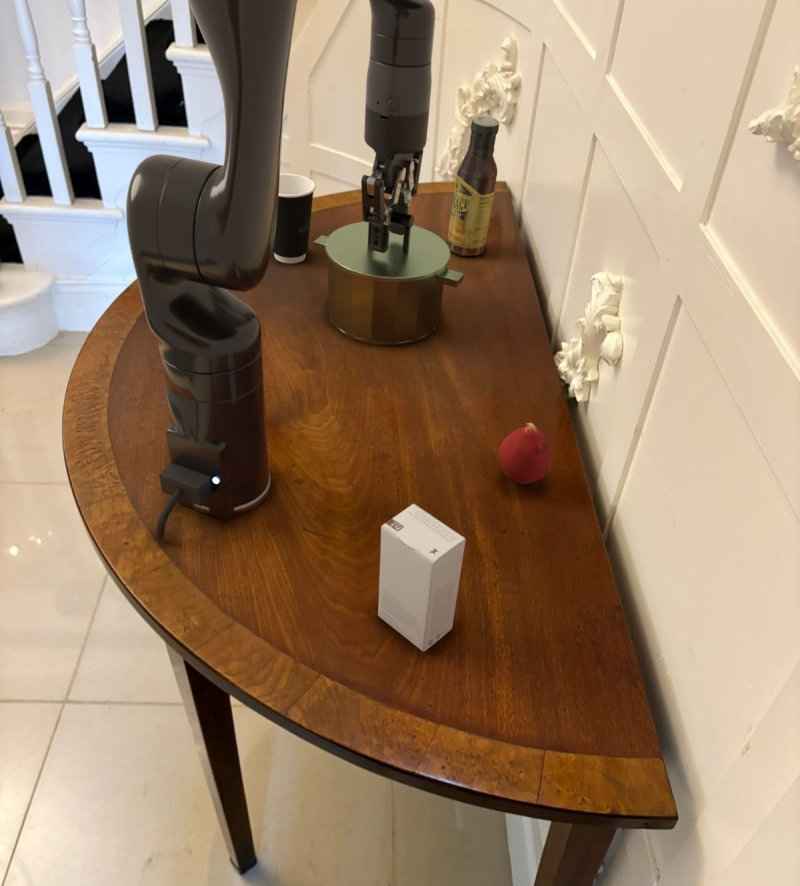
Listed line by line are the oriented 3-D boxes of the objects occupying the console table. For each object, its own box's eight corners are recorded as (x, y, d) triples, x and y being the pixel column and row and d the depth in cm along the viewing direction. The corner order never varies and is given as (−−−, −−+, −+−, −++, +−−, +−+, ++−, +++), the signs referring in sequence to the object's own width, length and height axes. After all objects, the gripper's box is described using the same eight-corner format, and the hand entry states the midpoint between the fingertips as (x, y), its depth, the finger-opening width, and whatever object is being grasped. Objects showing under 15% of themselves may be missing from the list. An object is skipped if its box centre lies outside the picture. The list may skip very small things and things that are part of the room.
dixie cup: (261, 245, 124) (257, 173, 116) (311, 243, 125) (310, 172, 118) (267, 269, 118) (264, 195, 111) (319, 267, 120) (319, 194, 112)
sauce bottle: (441, 242, 129) (456, 111, 115) (476, 239, 131) (495, 110, 117) (454, 260, 125) (472, 127, 111) (490, 258, 127) (512, 126, 113)
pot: (431, 363, 104) (439, 297, 97) (291, 321, 108) (289, 255, 102) (471, 311, 114) (481, 248, 107) (341, 274, 119) (343, 212, 112)
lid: (421, 299, 98) (426, 251, 93) (302, 265, 101) (302, 218, 97) (466, 247, 109) (472, 202, 104) (358, 219, 112) (359, 174, 108)
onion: (544, 468, 90) (559, 411, 84) (546, 501, 86) (562, 444, 80) (494, 462, 90) (505, 404, 85) (493, 495, 86) (505, 437, 80)
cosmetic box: (453, 628, 73) (472, 537, 64) (421, 656, 70) (436, 564, 62) (405, 591, 75) (416, 499, 67) (372, 617, 73) (379, 524, 64)
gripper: (393, 80, 97) (384, 215, 109) (341, 111, 88) (338, 256, 100) (449, 92, 96) (434, 228, 108) (403, 126, 86) (392, 271, 98)
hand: (388, 241), depth 104 cm, fingers open, 5 cm apart
